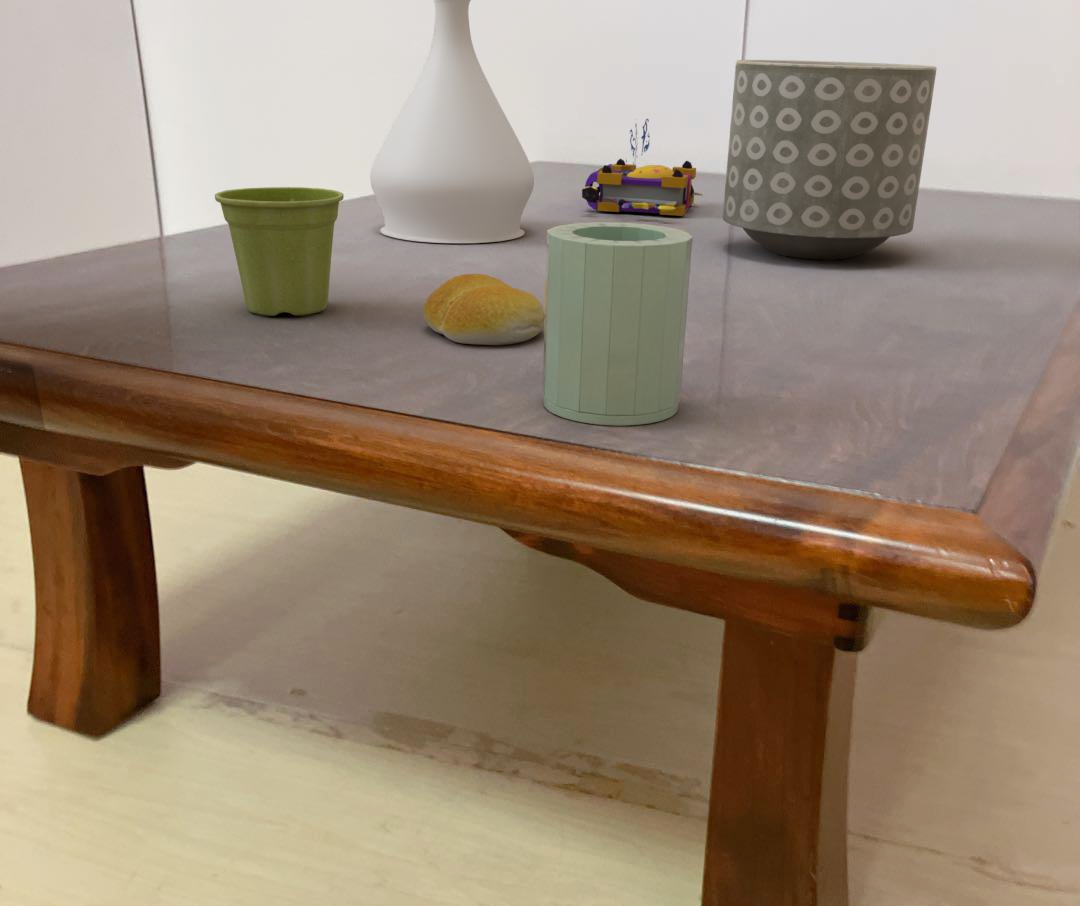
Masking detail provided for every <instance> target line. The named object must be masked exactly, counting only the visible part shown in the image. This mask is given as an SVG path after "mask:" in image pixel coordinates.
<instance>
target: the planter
mask: <svg viewBox="0 0 1080 906" xmlns="http://www.w3.org/2000/svg"><path fill="white" fill-rule="evenodd" d="M734 68H735V69H734V79H733V80H734V81H733V91H732V92H733V93H732V104H731V116H730V125H729V139H728V149H727V150H728V151H727V160H726V161H727V162H726V173H725V185H724V196H723V207H722V208H723V209H722V221H724V222H725V223H726V224H729V225H732V226H734V227H739V228H741V229H742V230H743V231H744V232H745V233H746V235H747V236H749V238H750V239H752V240H753V241H754V242H756V243H757V244H759V245H760V246H762V247H764V248H765V249H767V250H769V251H771V252H773V253H775V254H778V255H781V256H785V257H790V258H796V259H805V260H820V261H821V260H822V261H825V260H827V261H831V260H833V261H834V260H845V259H850V258H853V257H856V256H859V255H862V254H864V253H866V252H869V251H871V250H873V249H875V248H877V247H879V246H880V245H882V244H883V243H885V242H886V241H887V240H888V239H890V238H892V237H899V236H902V235H906V234H910V233H911V232H913V230H914V225H915V217H916V210H917V205H918V198H919V197H918V196H919V191H920V184H921V183H920V182H921V178H922V177H921V176H922V170H923V163H924V158H925V157H924V156H925V149H926V144H927V137H928V130H929V122H930V116H931V111H932V103H933V96H934V91H935V82H936V77H937V69H938V68H937V66H935V65H923V64H922V65H921V64H907V63H906V64H905V63H904V64H903V63H886V62H885V63H884V62H883V63H882V62H881V63H880V62H855V61H827V60H826V61H825V60H821V61H820V60H793V59H792V60H790V59H789V60H788V59H787V60H786V59H782V60H781V59H737V60H736V61H735V66H734Z"/></svg>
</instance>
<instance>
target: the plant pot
mask: <svg viewBox="0 0 1080 906" xmlns="http://www.w3.org/2000/svg"><path fill="white" fill-rule="evenodd" d="M344 196H345V195H344V193H343V192H341V191H338V190H335V189H327V188H319V187H302V186H270V187H245V188H235V189H227V190H222V191H219V192H216V193H215V194H214V199H215V202H217V203H220V207H221V211H222V214H223V218H224V221H225V222H226V223H227V224H228V228H229V232H230V237H231V242H232V247H233V251H234V255H235V259H236V264H237V268H238V272H239V279H240V282H241V288H242V292H243V297H244V303H245V306H246V309H247V311H248V312H250V313H253V314H257V315H262V316H265V317H266V316H267V317H273V316H274V317H275V316H277V315H279V314H281V313H288V314H291V315H293V316H299V317H302V316H308V315H311V314H317V313H320V312H322V311H325V310H326V309H327V306H328V304H329V303H328V302H329V292H330V280H331V279H330V278H331V265H332V254H333V253H332V252H333V243H334V242H333V241H334V231H335V222H336V221H337V219H338V215H339V205H340V202H341V201H343V200H344Z"/></svg>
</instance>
